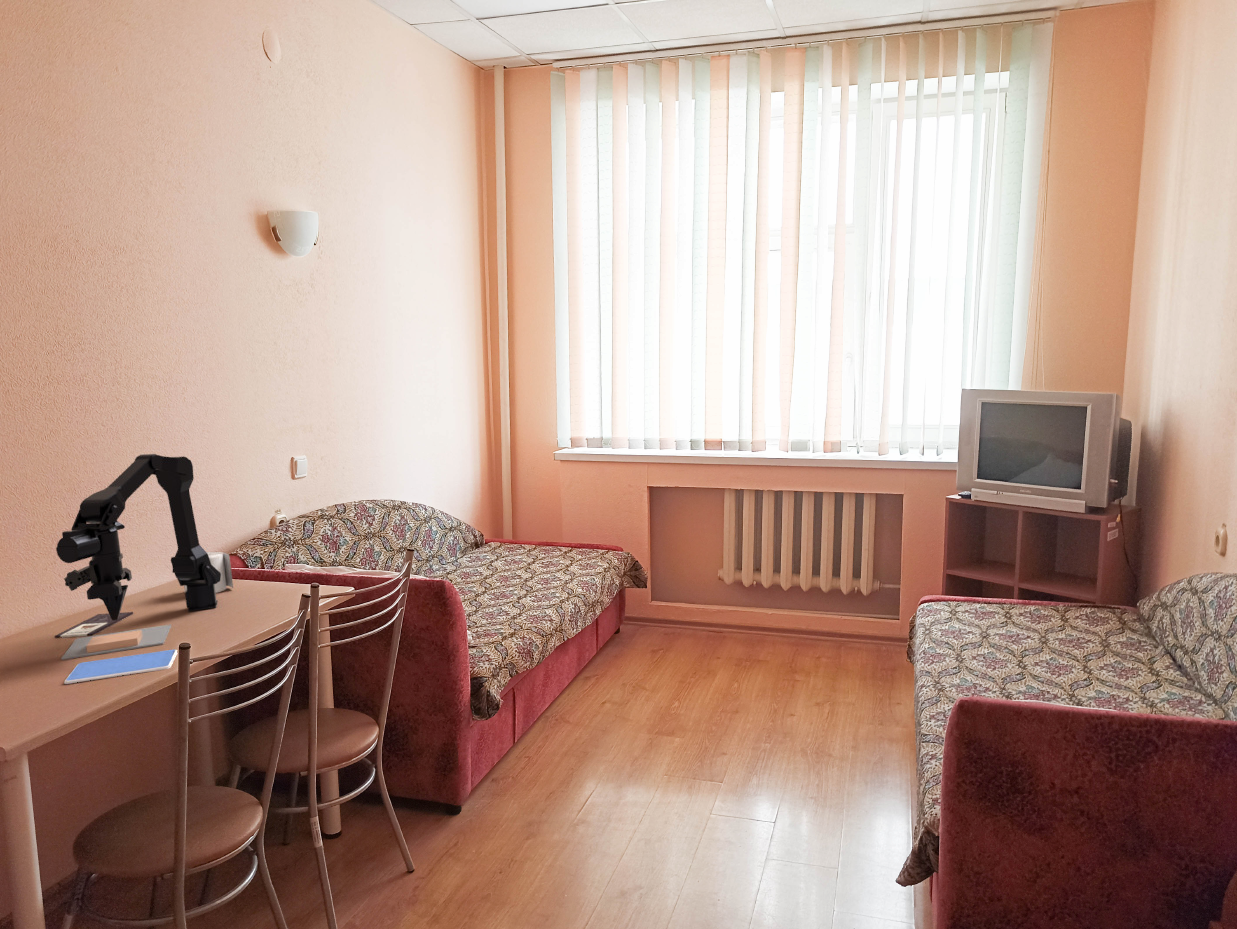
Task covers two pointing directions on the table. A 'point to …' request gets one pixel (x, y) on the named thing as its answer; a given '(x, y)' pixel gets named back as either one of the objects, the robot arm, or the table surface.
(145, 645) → the mat
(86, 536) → the robot arm
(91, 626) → the chocolate bar
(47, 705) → the table surface
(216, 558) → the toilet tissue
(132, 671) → the tablet computer
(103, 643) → the tile
